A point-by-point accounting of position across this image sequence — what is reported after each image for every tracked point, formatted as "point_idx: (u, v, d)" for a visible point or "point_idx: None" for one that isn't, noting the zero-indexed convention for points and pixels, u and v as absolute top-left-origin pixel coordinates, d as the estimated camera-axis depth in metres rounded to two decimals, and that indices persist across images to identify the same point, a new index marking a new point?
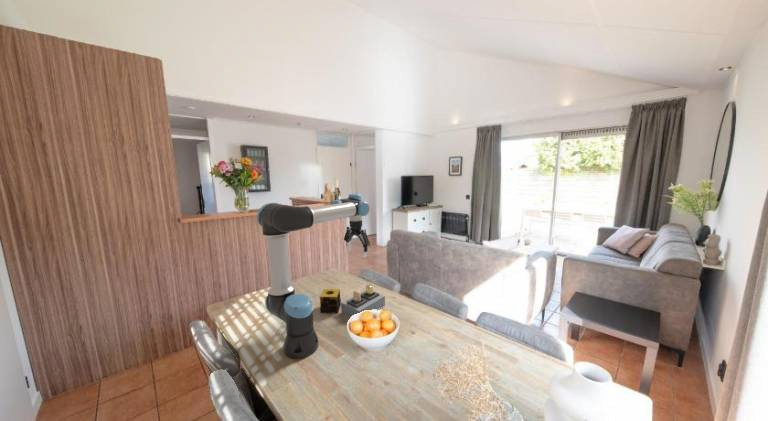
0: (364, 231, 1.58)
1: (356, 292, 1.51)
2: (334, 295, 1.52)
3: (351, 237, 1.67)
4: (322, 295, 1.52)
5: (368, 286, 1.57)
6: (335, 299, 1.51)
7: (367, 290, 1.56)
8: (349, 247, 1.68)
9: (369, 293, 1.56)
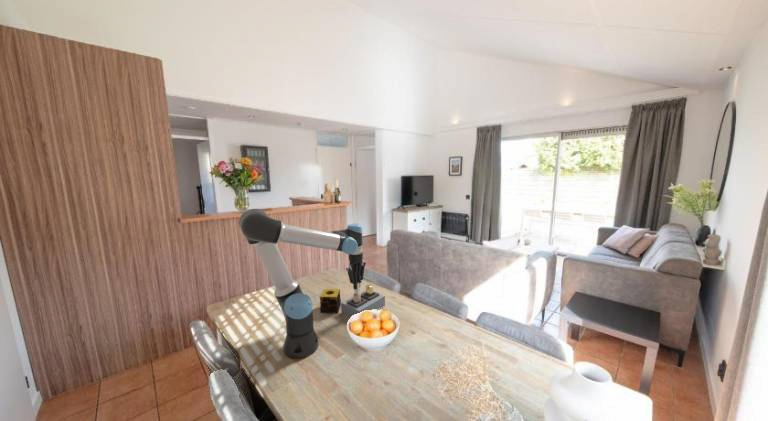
0: (349, 271, 1.43)
1: None
2: (334, 295, 1.52)
3: (358, 275, 1.49)
4: (322, 295, 1.52)
5: (368, 286, 1.57)
6: (335, 299, 1.51)
7: (367, 290, 1.56)
8: None
9: (369, 293, 1.56)
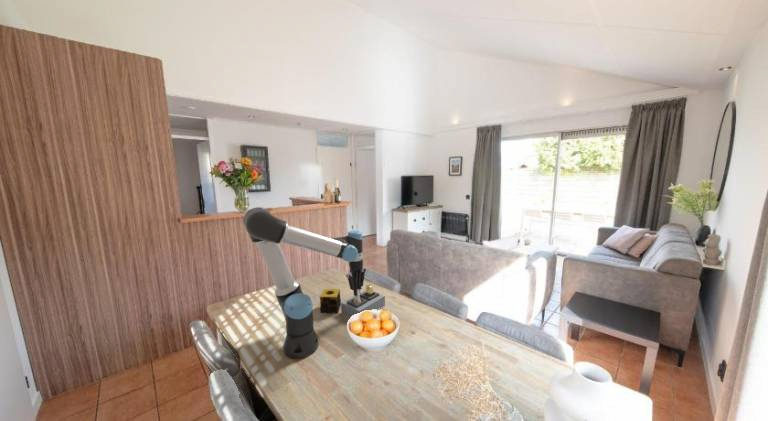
0: (349, 278, 1.44)
1: None
2: (334, 295, 1.52)
3: (358, 281, 1.49)
4: (322, 295, 1.52)
5: (368, 286, 1.57)
6: (335, 299, 1.51)
7: (367, 290, 1.56)
8: None
9: (369, 293, 1.56)
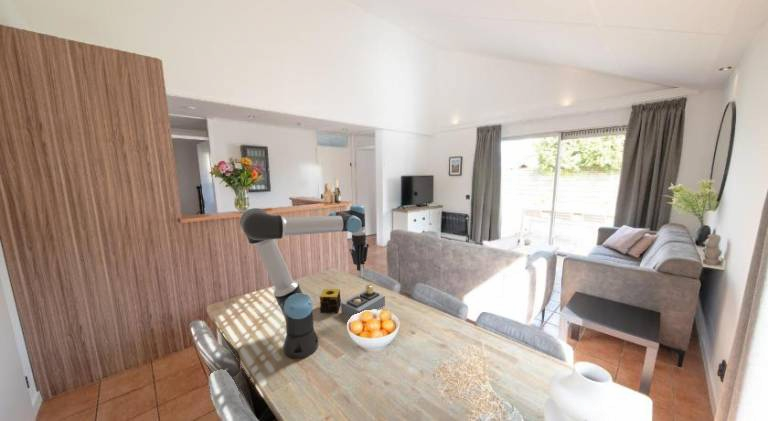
0: (352, 252, 1.44)
1: (357, 300, 1.51)
2: (334, 295, 1.52)
3: (361, 256, 1.49)
4: (322, 295, 1.52)
5: (368, 286, 1.57)
6: (335, 299, 1.51)
7: (367, 290, 1.56)
8: None
9: (369, 293, 1.56)
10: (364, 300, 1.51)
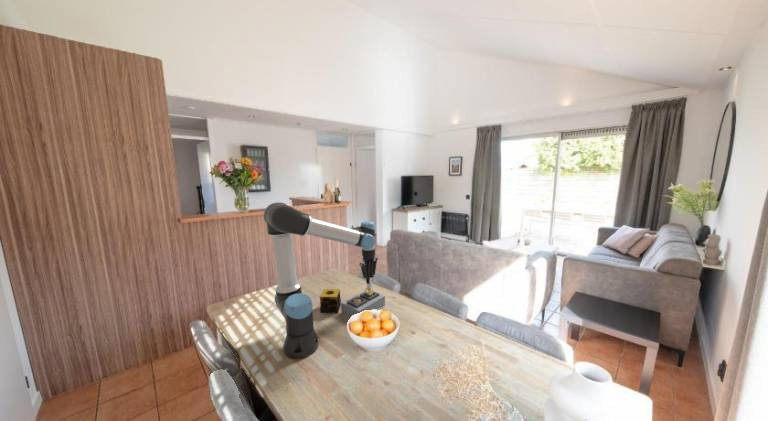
0: (362, 266, 1.51)
1: (357, 300, 1.51)
2: (334, 295, 1.52)
3: (370, 270, 1.56)
4: (322, 295, 1.52)
5: (368, 288, 1.57)
6: (335, 299, 1.51)
7: (367, 292, 1.57)
8: None
9: (369, 295, 1.57)
10: (364, 300, 1.51)
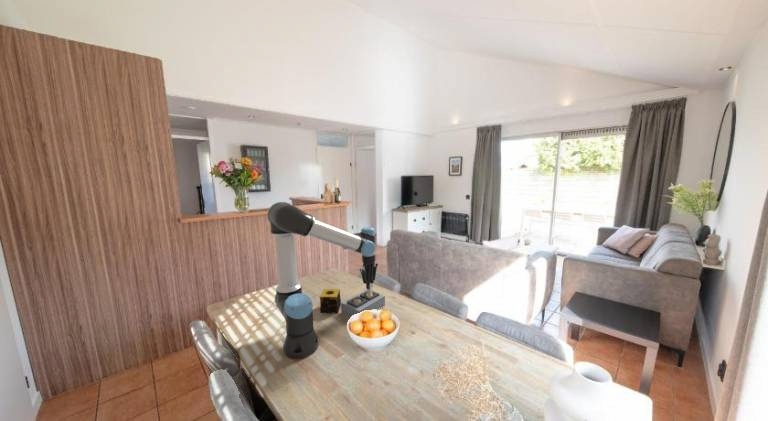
0: (362, 272, 1.51)
1: (357, 300, 1.51)
2: (334, 295, 1.52)
3: (370, 275, 1.57)
4: (322, 295, 1.52)
5: (368, 294, 1.58)
6: (335, 299, 1.51)
7: None
8: None
9: None
10: (364, 300, 1.51)
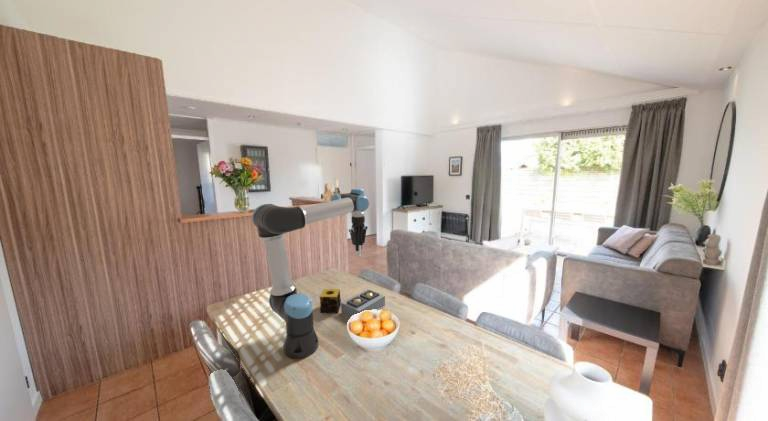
0: (351, 232, 1.52)
1: (357, 300, 1.51)
2: (334, 295, 1.52)
3: (360, 237, 1.57)
4: (322, 295, 1.52)
5: (368, 294, 1.58)
6: (335, 299, 1.51)
7: None
8: None
9: None
10: (364, 300, 1.51)
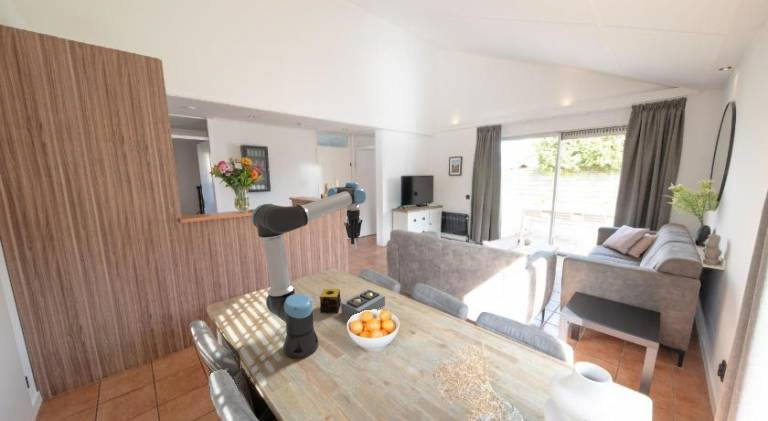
0: (346, 225, 1.54)
1: (357, 300, 1.51)
2: (334, 295, 1.52)
3: (355, 231, 1.59)
4: (322, 295, 1.52)
5: (368, 294, 1.58)
6: (335, 299, 1.51)
7: None
8: None
9: None
10: (364, 300, 1.51)
